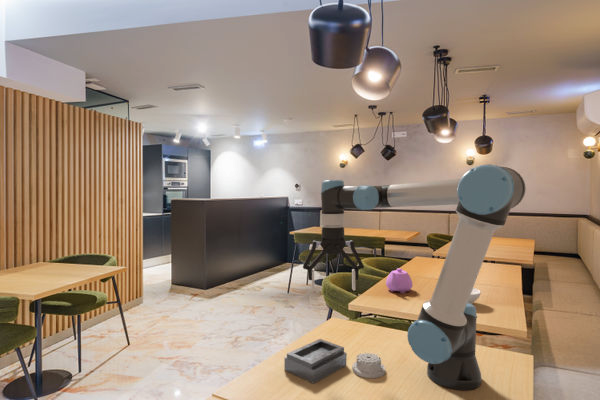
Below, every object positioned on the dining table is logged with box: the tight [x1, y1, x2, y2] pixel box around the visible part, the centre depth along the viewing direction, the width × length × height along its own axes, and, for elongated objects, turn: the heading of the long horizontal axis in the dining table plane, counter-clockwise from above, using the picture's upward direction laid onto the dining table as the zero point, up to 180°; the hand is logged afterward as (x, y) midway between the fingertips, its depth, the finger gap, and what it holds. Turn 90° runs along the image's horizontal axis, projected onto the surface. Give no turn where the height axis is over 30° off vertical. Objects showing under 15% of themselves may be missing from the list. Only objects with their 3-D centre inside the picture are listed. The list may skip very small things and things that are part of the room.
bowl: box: [467, 287, 482, 305], centre depth 189 cm, size 16×16×7 cm
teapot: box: [385, 267, 413, 294], centre depth 211 cm, size 20×14×12 cm
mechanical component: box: [351, 352, 386, 379], centre depth 120 cm, size 10×4×10 cm
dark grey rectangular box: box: [283, 338, 347, 385], centre depth 123 cm, size 12×19×6 cm, turn 137°
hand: (333, 289), depth 130 cm, fingers open, 13 cm apart
